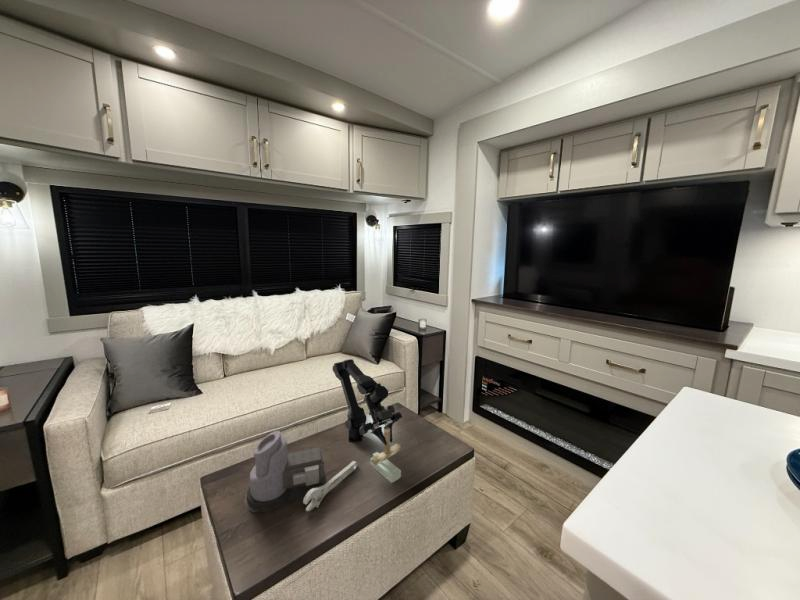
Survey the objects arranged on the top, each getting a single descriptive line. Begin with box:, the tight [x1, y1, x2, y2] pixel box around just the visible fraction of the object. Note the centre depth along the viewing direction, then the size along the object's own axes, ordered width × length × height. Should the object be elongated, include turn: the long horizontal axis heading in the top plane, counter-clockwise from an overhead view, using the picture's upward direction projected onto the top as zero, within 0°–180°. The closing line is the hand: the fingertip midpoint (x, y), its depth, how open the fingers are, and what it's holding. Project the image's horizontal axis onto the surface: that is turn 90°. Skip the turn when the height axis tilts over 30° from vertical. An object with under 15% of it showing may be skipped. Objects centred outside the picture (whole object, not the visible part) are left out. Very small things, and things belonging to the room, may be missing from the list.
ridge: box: [369, 451, 402, 484], centre depth 131 cm, size 14×5×4 cm, turn 43°
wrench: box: [302, 460, 359, 512], centre depth 121 cm, size 8×2×30 cm
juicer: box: [243, 430, 328, 513], centre depth 118 cm, size 30×16×24 cm, turn 110°
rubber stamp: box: [371, 427, 402, 465], centre depth 129 cm, size 14×2×12 cm, turn 134°
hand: (388, 443), depth 128 cm, fingers closed on rubber stamp, 2 cm apart
